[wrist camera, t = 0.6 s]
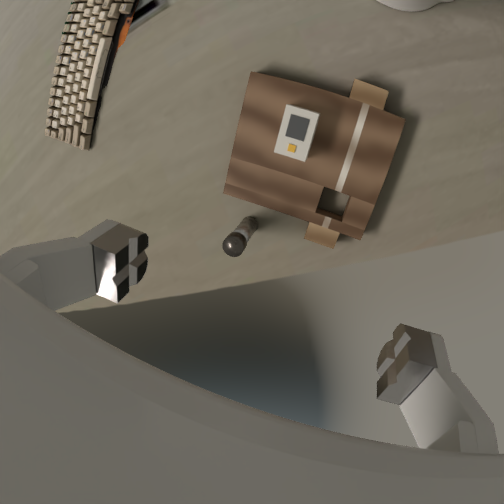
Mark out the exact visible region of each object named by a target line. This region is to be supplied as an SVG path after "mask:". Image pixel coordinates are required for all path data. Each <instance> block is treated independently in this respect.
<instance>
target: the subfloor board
mask: <svg viewBox="0 0 504 504" xmlns="http://www.w3.org/2000/svg"><path fill="white" fill-rule="evenodd" d="M388 92H389V91H387V90H384V89H382V88H379V87H377V86H374V85H371V84H368V83H366V82H363V81H360V80H357V79H355V80H354V83H353V86H352V90H351V93H350V97H349V98H348V97H345V96H342V95H339V94H336V93H333V92H330V91H326V90H323V89H320V88H316V87H313V86H309V85H306V84H302V83H298V82H295V81H291V80H287V79H283V78H279V77H274V76H270V75H266V74H261V73H256V72H252V71H251V73H250V77H249V81H248V85H247V89H246V94H245V98H244V102H243V106H242V110H241V115H240V119H239V123H238V128H237V132H236V137H235V141H234V146H233V150H232V155H231V159H230V164H229V168H228V173H227V178H226V183H225V187H224V192H223V193H224V194H227V195H230V196H233V197H236V198H239V199H243V200H246V201H249V202H252V203H255V204H258V205H261V206H264V207H267V208H270V209H273V210H276V211H279V212H282V213H285V214H288V215H291V216H294V217H297V218H299V219H302V220H305V221H308V222H309V225H308V228H307V231H306V234H305V237H304V239H307V240H310V241H313V242H315V243H318V244H321V245H324V246H327V247H329V248H332V249H333V248H334V246H335V244H336V241H337V239H338V236H339V234H340V233H342V234H344V235H347V236H350V237H353V238H355V239H358V240H361V238H362V235H363V233H364V231H365V228H366V226H367V223H368V221H369V219H370V216H371V214H372V211H373V209H374V206H375V204H376V201H377V199H378V196H379V194H380V191H381V188H382V186H383V183H384V181H385V178H386V175H387V173H388V170H389V167H390V164H391V162H392V159H393V156H394V153H395V150H396V147H397V144H398V142H399V139H400V136H401V133H402V130H403V127H404V123H405V120H406V119H403V118H401V117H399V116H396V115H394V114H391V113H389V112H386V111H384V110H383V109H384V106H385V102H386V99H387V96H388ZM286 104H291V105H294V106H298V107H301V108H305V109H308V110H312V111H315V112H318V113H321V114H320V117H319V121H318V124H317V127H316V131H315V134H314V138H313V141H312V144H311V148H310V151H309V155H308V158H307V160H306V161H305V162H304V161H300V160H297V159H294V158H291V157H288V156H285V155H281V154H278V153H275V152H274V149H275V145H276V142H277V138H278V134H279V130H280V127H281V123H282V119H283V115H284V112H285V108H286ZM324 187H327V188H330V189H333V190H335V191H338V192H341V193H344V194H347V195H349V196H350V197H349V200H348V202H347V205H346V208H345V210H344V213H343V216H340V215H337V214H334V213H331V212H329V211H326V210H323V209H320V208H317V205H318V203H319V200H320V197H321V194H322V191H323V188H324Z"/></svg>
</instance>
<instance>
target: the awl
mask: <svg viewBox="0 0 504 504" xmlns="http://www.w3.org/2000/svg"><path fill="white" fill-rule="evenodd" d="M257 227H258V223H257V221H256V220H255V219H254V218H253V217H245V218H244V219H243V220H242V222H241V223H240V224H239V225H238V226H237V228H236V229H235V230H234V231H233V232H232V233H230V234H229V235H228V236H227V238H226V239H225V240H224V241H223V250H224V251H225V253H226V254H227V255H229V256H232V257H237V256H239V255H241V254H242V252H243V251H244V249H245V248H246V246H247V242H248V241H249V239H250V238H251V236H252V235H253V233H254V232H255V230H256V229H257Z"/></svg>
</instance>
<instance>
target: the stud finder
mask: <svg viewBox="0 0 504 504" xmlns="http://www.w3.org/2000/svg"><path fill="white" fill-rule="evenodd" d="M320 114H321V113H318V112H315V111H312V110H308V109H305V108H301V107H298V106H294V105H291V104H286V108H285V112H284V115H283V119H282V123H281V127H280V130H279V134H278V138H277V142H276V145H275V149H274V152H275V153H278V154H281V155H285V156H288V157H291V158H294V159H297V160H300V161H304V162H305V161H306V160H307V158H308V155H309V151H310V148H311V144H312V141H313V138H314V134H315V131H316V127H317V124H318V121H319V117H320Z"/></svg>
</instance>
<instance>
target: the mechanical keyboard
mask: <svg viewBox="0 0 504 504" xmlns="http://www.w3.org/2000/svg"><path fill="white" fill-rule="evenodd" d="M74 1H75V2H73V3H72V2H71V4H72V5H71V8H70V11H72V12H68V14H69V15H68V17H67V21H68V22H65V24H66V25H65V27H64V31H65V32H64V33H63V32H62V34H64V35H62V38H61V42H63V43H64V44H62V45H60V46H59V50H58V52H60V53H62V54H61V55H58V56H57V59H56V63H59V64H60V65H58V66H55V68H54V73H55V74H58V75H56V76H54V77H53V79H52V84H54V85H55V86H53V87H51V90H50V94H51V95H54V96H52V97H50V98H49V103H48V104H49V105H52V106H51V107H50V108H48V111H47V115H50V117H48V118H47V119H46V125H48V126H49V127H47V128H46V129H45V135H46V136H51V138H54V139H58V140H60V141H65V142H66V143H68V144H72V145H73V146H75V147H79V148H80V149H82V150H89V149H90V144H91V135H92V131H93V129H94V126H95V123H96V120H97V116H98V112H99V109H100V106H101V98H102V97H101V92H102V89H103V87H104V88H105V86H107V84H108V80H109V76H110V73H111V69H112V65H113V62H114V58H115V55H116V52H117V50H118V48H119V47H120V46H121V45H122V44H123V43H124V41H125V39H126V36H127V33H128V30H129V27H130V24H131V22H132V17H133V15H134V12H135V10H136V7H137V4H138V2H139V0H74ZM128 21H129V22H128Z"/></svg>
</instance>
